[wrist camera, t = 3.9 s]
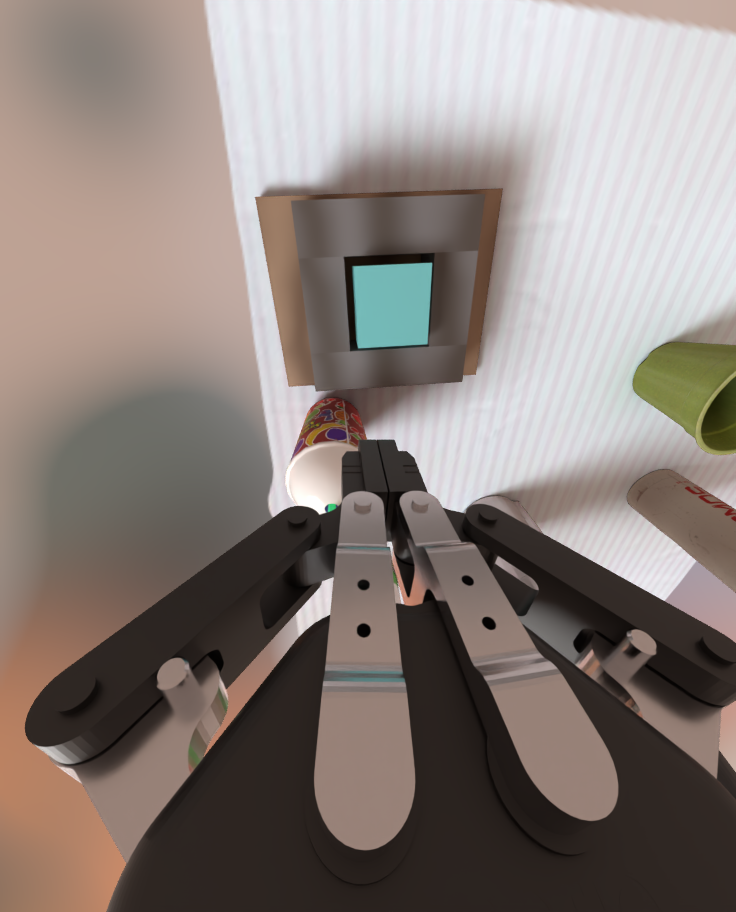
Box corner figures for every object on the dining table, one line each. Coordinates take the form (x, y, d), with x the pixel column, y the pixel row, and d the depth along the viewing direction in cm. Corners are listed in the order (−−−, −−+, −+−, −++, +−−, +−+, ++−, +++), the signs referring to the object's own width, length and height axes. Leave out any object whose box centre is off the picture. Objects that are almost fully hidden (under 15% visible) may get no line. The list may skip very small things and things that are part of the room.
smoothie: (305, 381, 37) (278, 480, 20) (373, 394, 39) (401, 497, 22) (296, 441, 41) (268, 566, 24) (358, 451, 43) (372, 575, 26)
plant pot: (629, 429, 45) (709, 474, 35) (600, 369, 40) (684, 403, 30) (718, 371, 41) (834, 404, 32) (698, 298, 36) (829, 310, 26)
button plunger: (420, 262, 28) (432, 262, 25) (417, 335, 31) (427, 344, 28) (351, 265, 28) (353, 266, 24) (355, 339, 31) (358, 348, 28)
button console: (497, 191, 29) (532, 175, 24) (472, 371, 38) (493, 388, 33) (258, 199, 28) (240, 184, 23) (290, 383, 37) (282, 403, 32)
